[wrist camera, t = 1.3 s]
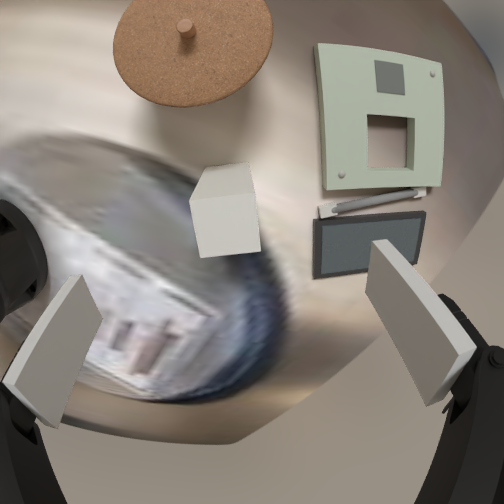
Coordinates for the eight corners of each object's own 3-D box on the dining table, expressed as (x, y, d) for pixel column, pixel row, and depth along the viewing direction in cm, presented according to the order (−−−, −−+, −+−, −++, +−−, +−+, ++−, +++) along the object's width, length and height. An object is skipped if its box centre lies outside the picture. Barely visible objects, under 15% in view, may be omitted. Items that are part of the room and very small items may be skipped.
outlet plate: (322, 185, 27) (327, 190, 25) (313, 46, 20) (317, 43, 19) (433, 182, 27) (441, 186, 25) (433, 64, 20) (441, 63, 19)
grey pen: (319, 215, 28) (321, 218, 27) (317, 205, 28) (320, 209, 27) (422, 193, 27) (426, 195, 27) (422, 184, 27) (426, 186, 26)
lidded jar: (237, 123, 24) (237, 129, 15) (130, 92, 21) (80, 90, 13) (280, 24, 19) (302, -14, 11) (171, -4, 17) (143, -46, 8)
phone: (311, 273, 32) (314, 279, 31) (312, 217, 29) (315, 221, 28) (412, 259, 32) (417, 264, 31) (421, 208, 29) (426, 213, 28)
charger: (211, 207, 27) (200, 258, 19) (205, 167, 25) (189, 200, 17) (252, 202, 27) (261, 252, 19) (248, 161, 25) (255, 192, 17)
